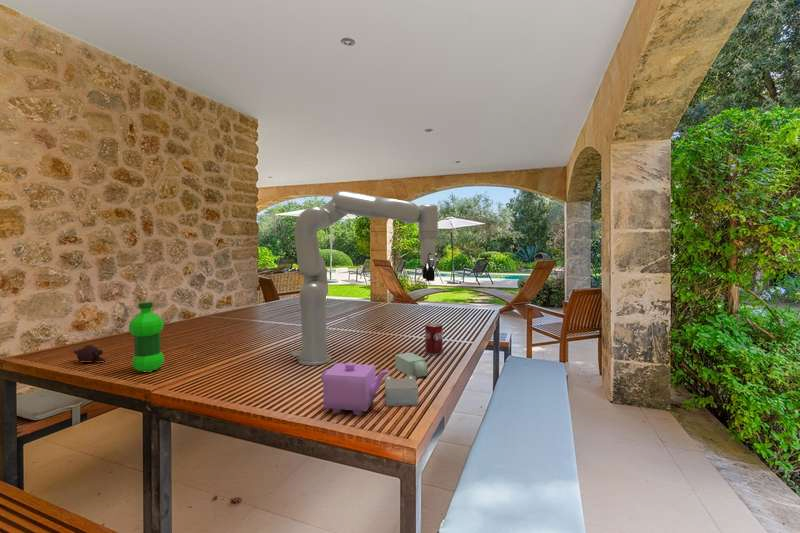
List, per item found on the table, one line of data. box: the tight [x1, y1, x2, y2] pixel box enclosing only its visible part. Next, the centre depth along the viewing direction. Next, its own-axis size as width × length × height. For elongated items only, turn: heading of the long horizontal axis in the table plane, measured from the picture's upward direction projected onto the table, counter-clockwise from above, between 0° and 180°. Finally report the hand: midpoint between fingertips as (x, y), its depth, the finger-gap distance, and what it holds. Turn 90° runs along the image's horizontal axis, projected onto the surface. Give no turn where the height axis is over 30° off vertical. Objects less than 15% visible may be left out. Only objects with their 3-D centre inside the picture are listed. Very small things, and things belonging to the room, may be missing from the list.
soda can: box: [424, 322, 444, 356], centre depth 160 cm, size 7×7×12 cm
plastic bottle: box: [128, 301, 165, 372], centre depth 140 cm, size 10×10×25 cm
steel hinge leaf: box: [384, 375, 419, 407], centre depth 114 cm, size 9×12×5 cm
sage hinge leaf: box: [394, 351, 428, 378], centre depth 136 cm, size 6×14×5 cm, turn 29°
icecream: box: [73, 344, 106, 362], centre depth 152 cm, size 7×7×15 cm
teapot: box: [320, 361, 391, 416], centre depth 107 cm, size 20×10×12 cm, turn 79°
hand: (428, 279), depth 152 cm, fingers open, 9 cm apart
